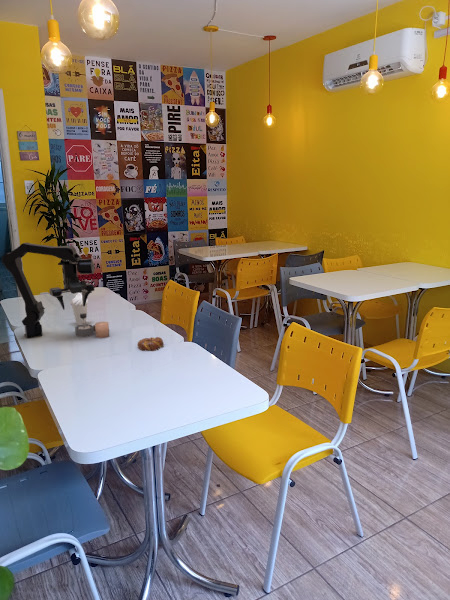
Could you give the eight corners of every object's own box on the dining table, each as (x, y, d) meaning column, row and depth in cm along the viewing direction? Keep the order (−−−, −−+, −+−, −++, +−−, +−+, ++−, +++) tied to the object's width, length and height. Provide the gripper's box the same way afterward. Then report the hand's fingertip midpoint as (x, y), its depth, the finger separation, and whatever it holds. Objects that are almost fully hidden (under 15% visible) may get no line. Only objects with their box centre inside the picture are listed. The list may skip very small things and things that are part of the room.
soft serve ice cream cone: (86, 326, 221) (84, 294, 217) (70, 326, 221) (67, 294, 217) (92, 321, 229) (89, 291, 225) (75, 321, 229) (73, 291, 225)
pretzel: (153, 341, 200) (152, 333, 199) (170, 346, 193) (169, 338, 192) (131, 347, 191) (131, 339, 190) (148, 353, 184) (148, 345, 183)
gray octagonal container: (79, 337, 203) (78, 330, 202) (74, 333, 209) (73, 326, 208) (99, 334, 209) (99, 326, 208) (94, 330, 215) (93, 322, 214)
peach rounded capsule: (98, 338, 202) (97, 326, 201) (94, 335, 207) (93, 323, 205) (111, 336, 205) (110, 324, 204) (106, 333, 210) (105, 320, 209)
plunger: (80, 330, 204) (78, 316, 202) (76, 328, 208) (75, 313, 207) (92, 328, 207) (91, 314, 205) (88, 325, 211) (87, 311, 210)
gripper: (54, 279, 189) (58, 315, 193) (97, 274, 200) (100, 308, 204) (47, 275, 198) (51, 309, 202) (88, 271, 209) (91, 303, 212)
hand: (74, 307), depth 205 cm, fingers open, 9 cm apart
